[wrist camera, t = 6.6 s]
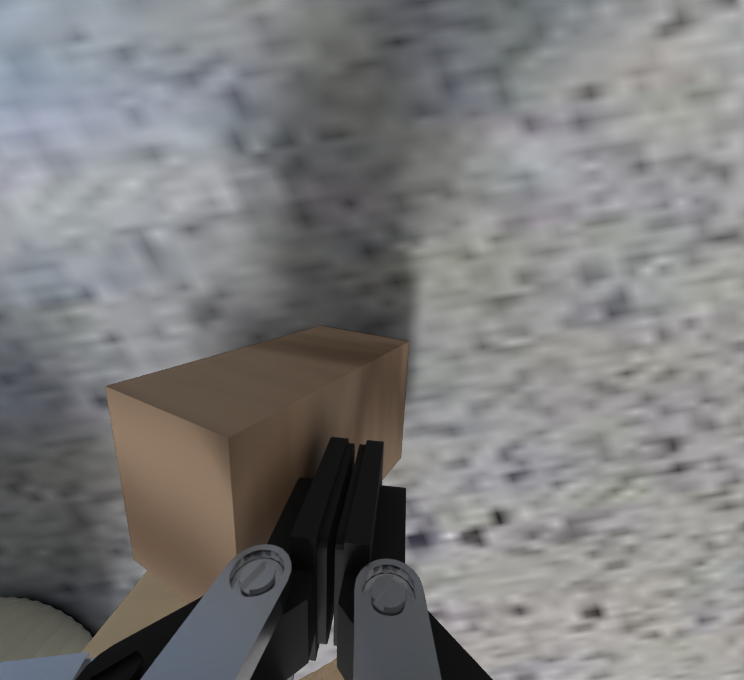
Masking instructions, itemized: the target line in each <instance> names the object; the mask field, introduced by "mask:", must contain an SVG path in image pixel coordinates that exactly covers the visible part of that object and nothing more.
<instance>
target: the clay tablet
mask: <svg viewBox="0 0 744 680" xmlns="http://www.w3.org/2000/svg"><path fill="white" fill-rule="evenodd" d="M300 680H344V678H343V676H342V675H341V673H340V672H339V670H338V668H337V658H336V659H335V660H333V661H332V662H330V663H328V664H326V665H324V666H323V667H321V668H320V669H318V670H317V671H315V672H312V673H310V674H308V675H307V676H305V677H303V678H301V679H300Z"/></svg>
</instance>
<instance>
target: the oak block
mask: <svg viewBox="0 0 744 680" xmlns="http://www.w3.org/2000/svg"><path fill="white" fill-rule="evenodd" d="M187 604H189V603H188V602H187V601H185V600H184V599H183V598H182V597H180V596H179V595H178V594H177V593H175V592H174V591H173V590H172V589H170V588H169V587H168V586H167V585H165V584H164V583H163V582H162V581H160V580H159V579H158V578H157V577H155V576H154V575H153V574H151V573H150V572H149V571H147V572H146V573H145V574H144V575H143V577H142V578H141V579H140V580H139V582H138V583H137V584H136V585H135V587H134V588H133V589H132V590H131V591H130V593H129V594H128V595H127V596H126V598H125V599H124V600H123V601H122V603H121V604H120V605H119V606H118V607H117V609H116V610H115V611H114V612H113V614H112V615H111V616H110V617H109V619H108V620H107V621H106V622H105V624H104V625H103V626H102V627H101V628H100V630H99V631H98V632H97V633H96V635H95V636H94V637H93V638H92V640H91V641H90V642H89V643H88V644H87V646H86V647H85V648H84V649H83V651H82V652H81V653H83V652H89V655H90V658H96V657H97V656H98V655H99V654H100V653H102V652H103V651H105V650H106V649H108V648H109V647H111V646H112V645H114V644H116V643H117V642H119V641H121V640H123V639H125V638H127V637H128V636H130V635H132V634H134V633H136V632H138V631H139V630H141V629H143V628H145V627H147V626H149V625H151V624H152V623H154V622H156V621H158V620H160V619H162V618H163V617H165V616H167V615H169V614H171V613H173V612H174V611H176V610H178V609H180V608H182V607H184V606H185V605H187Z"/></svg>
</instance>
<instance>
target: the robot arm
mask: <svg viewBox="0 0 744 680" xmlns="http://www.w3.org/2000/svg"><path fill="white" fill-rule="evenodd" d="M383 455H384V441H373V440H367V441H366V445H365V444H360V445H359V448H358V452H357V456H356V460H355V444H354V443H349V439H348V438H340V437H331V438H330V440H329V443H328V445H327V447H326V450H325V452H324V455H323V457H322V460H321V462H320V464H319V467H318V469H317V472H316V474H315V476H314V479H313V478H303V477H300V478H299V479H298V480H297V482H296V484H295V486H294V488H293V490H292V493H291V495H290V497H289V499H288V501H287V503H286V505H285V507H284V509H283V511H282V513H281V515H280V518H279V520H278V522H277V524H276V526H275V528H274V530H273V532H272V534H271V536H270V538H269V540H268V542H267V544H262V545H255V546H253V547H250V548H247V549H245V550H243V551H242V552H240V553H239V554H237V555H236V556H235V557H234V558H233V559H232V560H231V561H230V562H229V563H228V564H227V566H226V567H225V568H224V570H223V571H222V572H221V574H220V575H219V576H218V577H217V579H216V580H215V581H214V583H213V584H212V585H211V587H210V588H209V589H208V591H207V592H206V593H205V595H204V596H202V597H200V598H198V599H196V600H195V601H193V602H191V603H189V604H187V605H185V606H184V607H182V608H180V609H178V610H176V611H174V612H173V613H171V614H169V615H167V616H165V617H163V618H162V619H160V620H158V621H156V622H154V623H152V624H151V625H149V626H147V627H145V628H143V629H141V630H139V631H138V632H136V633H134V634H132V635H130V636H128V637H127V638H125V639H123V640H121V641H119V642H117V643H116V644H114V645H112V646H111V647H109V648H108V649H106V650H105V651H103V652H102V653H100V654H99V655H98V656H97V657H96V658H90V655H89V652H83V653H74V654H66V655H57V656H49V657H40V658H31V659H23V660H14V661H6V662H0V680H294V674H295V673H296V672H297V671H299V670H300V669H301V668H302V667H304V666H305V665H306V664H307V663H308V662H309V660H313V661H316V657H317V652H318V648H319V643H321V644H327V643H328V639H329V635H330V630H331V625H332V620H333V615H334V645H335V646H337V668H338V670H339V672H340V673H341V675H342V676H343V678H344V680H493V679H492V678H491V677H490V676H489V675H488V674H487V673H486V672H485V671H484V670H483V669H482V668H481V667H480V666H479V665H478V663H477V662H476V661H475V660H474V659H473V658H472V657H471V656H470V655H469V654H468V653H467V652H466V651H465V650H464V649H463V647H462V646H461V645H460V644H459V643H458V642H457V641H456V640H455V639H454V638H453V637H452V636H451V635H450V634H449V633H448V632H447V630H446V629H445V628H444V627H443V626H442V625H441V624H440V623H439V622H438V621H437V620H436V619H435V618H434V617H433V616H432V614H431V613H430V612H429V611H428V609H427V604H426V599H425V594H424V589H423V586H422V583H421V580H420V578H419V577H418V575H417V574H416V573H415V571H414V570H413V569H412V568H410V567H409V566H408V565H407V564H405V520H406V488H402V487H392V486H382V473H383ZM354 462H355V464H354Z"/></svg>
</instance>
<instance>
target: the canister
mask: <svg viewBox="0 0 744 680" xmlns="http://www.w3.org/2000/svg"><path fill="white" fill-rule="evenodd" d="M92 638H93V637H92V636H91V633H90V632H89V631H87V630H85V629H84V628H83V626H82V625H81V624H80V623H77V622H76V621H75V620H74V619H73V618H72V617H70V616H68V615H66V614H64V613H63V612H62V611H61V610H56V609H54V608H53V607H52V606H50V605H45V604H42V603H41V602H39V601H31V600H29V599H27V598H20V599H19V598H16V597H7V598H5V597H0V662H6V661H14V660H23V659H31V658H40V657H49V656H57V655H66V654H74V653H81V652H82V651H83V649H84V648H85V647H86V646H87V644H88V643H89V642H90V641H91V640H92Z"/></svg>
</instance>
